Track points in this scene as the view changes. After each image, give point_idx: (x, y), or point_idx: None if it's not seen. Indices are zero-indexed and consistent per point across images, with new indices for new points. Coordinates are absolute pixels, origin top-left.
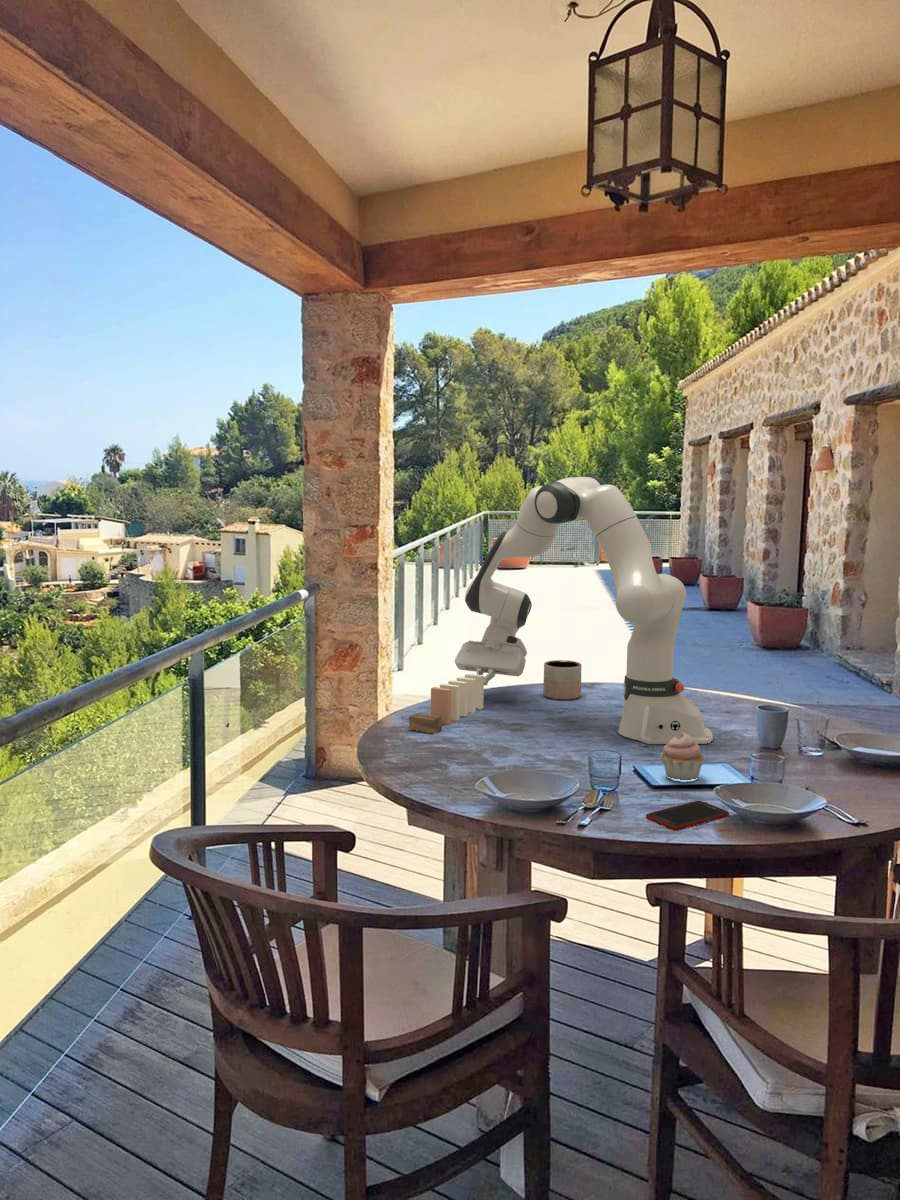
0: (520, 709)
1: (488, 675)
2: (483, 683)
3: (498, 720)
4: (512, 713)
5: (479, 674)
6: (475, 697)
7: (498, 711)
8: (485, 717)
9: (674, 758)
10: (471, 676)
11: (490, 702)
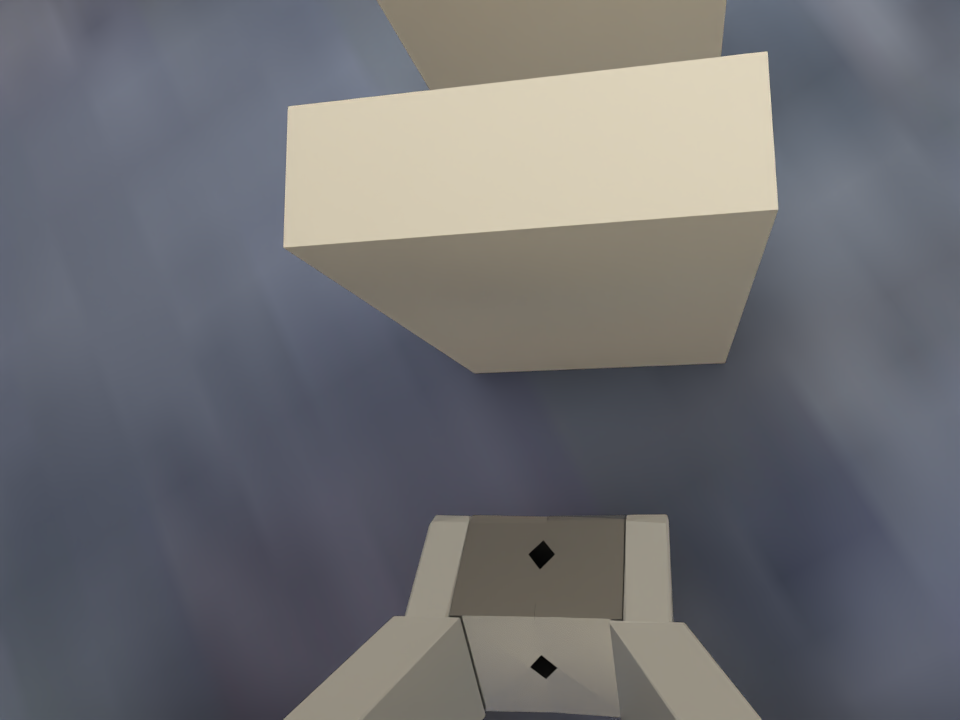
0: (64, 554)
1: (362, 656)
2: (356, 290)
3: (112, 9)
4: (83, 336)
5: (650, 697)
6: (421, 65)
7: (247, 328)
8: (269, 24)
9: None
10: (555, 86)
11: (534, 714)
